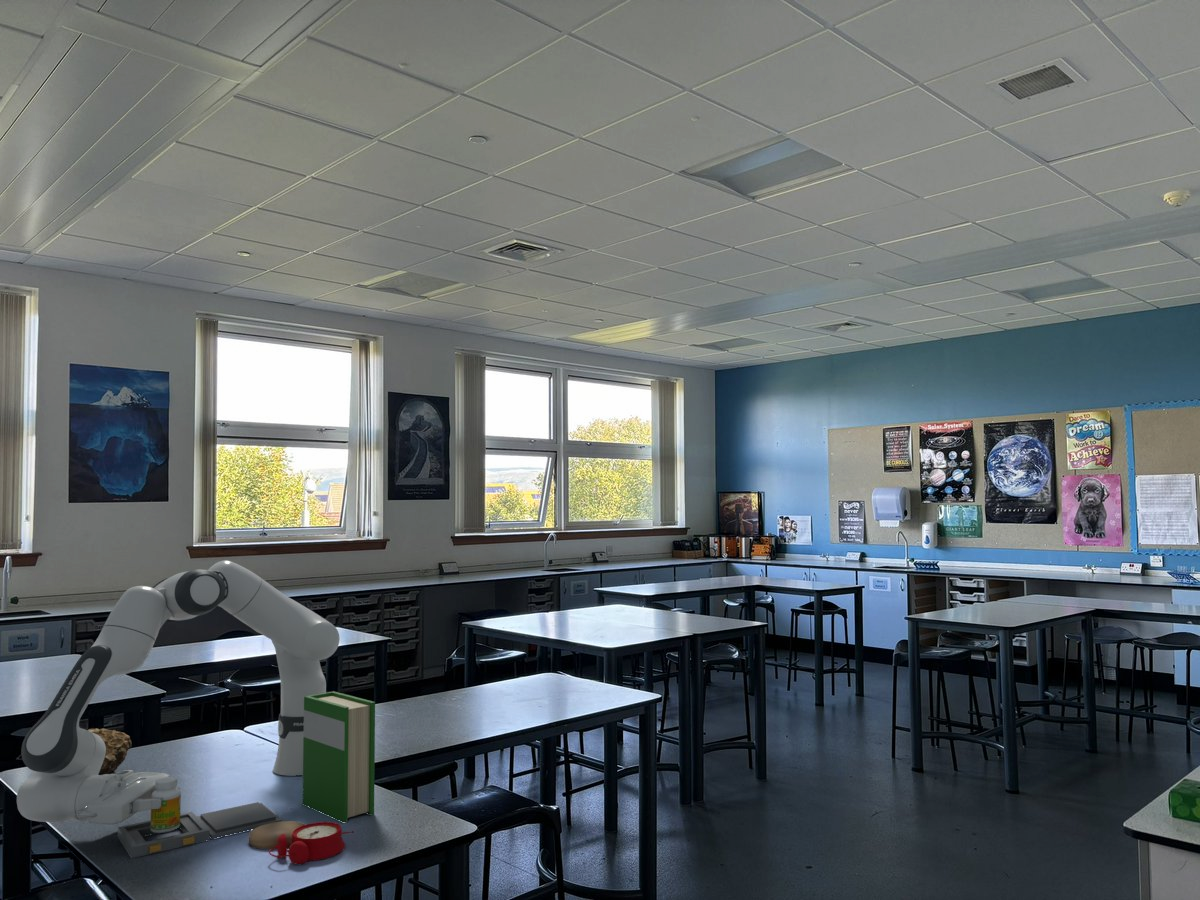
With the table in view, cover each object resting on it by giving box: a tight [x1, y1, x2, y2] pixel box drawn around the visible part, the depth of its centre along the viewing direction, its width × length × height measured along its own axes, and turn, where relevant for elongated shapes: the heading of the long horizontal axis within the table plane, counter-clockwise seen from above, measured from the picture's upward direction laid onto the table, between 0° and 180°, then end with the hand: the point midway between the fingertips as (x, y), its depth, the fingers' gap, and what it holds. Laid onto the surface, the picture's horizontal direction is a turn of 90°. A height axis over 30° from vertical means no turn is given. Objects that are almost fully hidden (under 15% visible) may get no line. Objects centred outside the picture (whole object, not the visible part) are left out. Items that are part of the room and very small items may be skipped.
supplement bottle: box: [150, 776, 182, 834], centre depth 175 cm, size 5×5×10 cm
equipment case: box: [117, 801, 283, 859], centre depth 178 cm, size 28×15×2 cm, turn 129°
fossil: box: [87, 727, 132, 775], centre depth 215 cm, size 23×14×15 cm, turn 42°
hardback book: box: [302, 690, 376, 823], centre depth 191 cm, size 18×7×24 cm, turn 47°
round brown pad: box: [248, 820, 306, 850], centre depth 174 cm, size 11×11×2 cm
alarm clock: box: [268, 821, 355, 865], centre depth 166 cm, size 10×6×15 cm
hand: (170, 797), depth 175 cm, fingers closed on supplement bottle, 5 cm apart
